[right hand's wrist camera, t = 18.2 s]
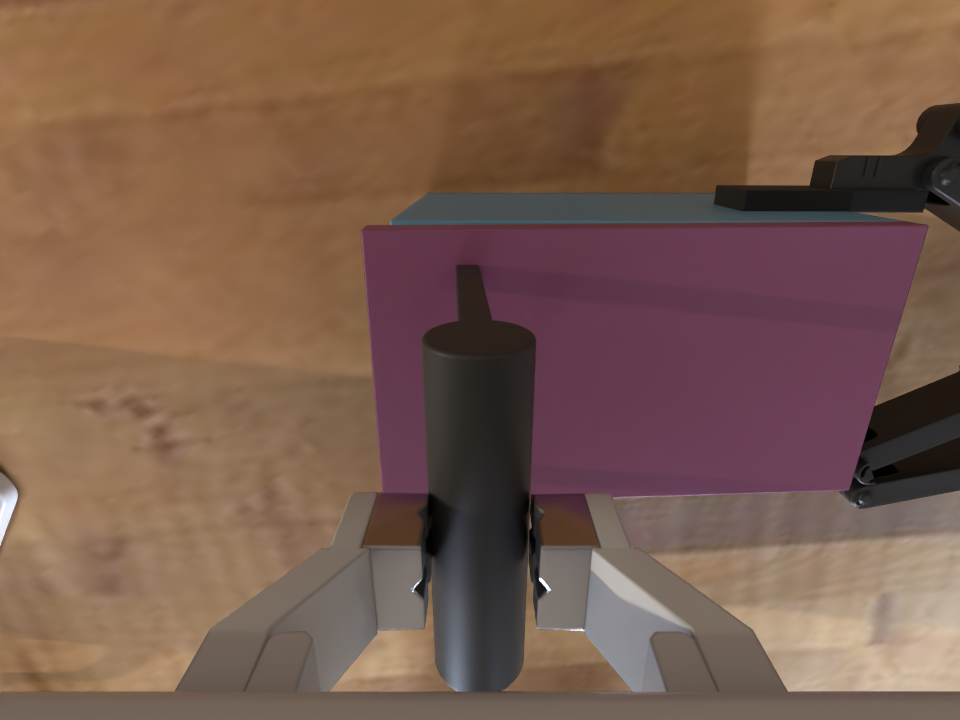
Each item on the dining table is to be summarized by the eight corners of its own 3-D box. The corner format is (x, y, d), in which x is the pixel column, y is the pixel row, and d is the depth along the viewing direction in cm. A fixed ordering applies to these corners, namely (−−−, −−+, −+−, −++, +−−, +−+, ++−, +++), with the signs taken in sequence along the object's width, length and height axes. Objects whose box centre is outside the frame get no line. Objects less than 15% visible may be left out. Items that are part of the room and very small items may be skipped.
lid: (386, 489, 20) (340, 734, 11) (365, 225, 16) (277, 304, 8) (832, 475, 20) (1087, 695, 12) (904, 221, 17) (1330, 288, 9)
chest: (432, 362, 31) (404, 471, 21) (426, 193, 28) (388, 220, 17) (716, 364, 31) (832, 475, 20) (746, 193, 27) (904, 220, 17)
